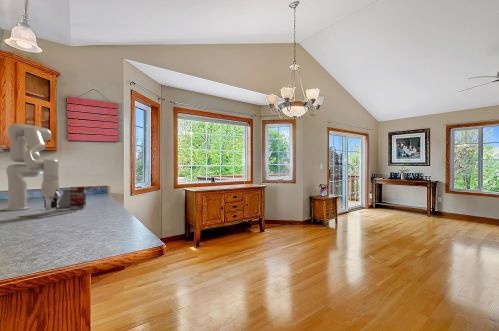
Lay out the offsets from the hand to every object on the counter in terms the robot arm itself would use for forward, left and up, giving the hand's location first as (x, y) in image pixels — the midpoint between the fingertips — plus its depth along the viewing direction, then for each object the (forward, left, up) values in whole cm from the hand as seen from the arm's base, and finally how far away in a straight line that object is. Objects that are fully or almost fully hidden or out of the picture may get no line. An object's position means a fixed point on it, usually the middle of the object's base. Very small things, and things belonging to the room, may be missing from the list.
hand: (50, 207), depth 154 cm
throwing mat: (-1, 0, -4) cm, 5 cm away
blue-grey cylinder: (0, 0, -1) cm, 1 cm away
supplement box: (-2, +20, -5) cm, 21 cm away
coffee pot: (-13, +27, -5) cm, 30 cm away
